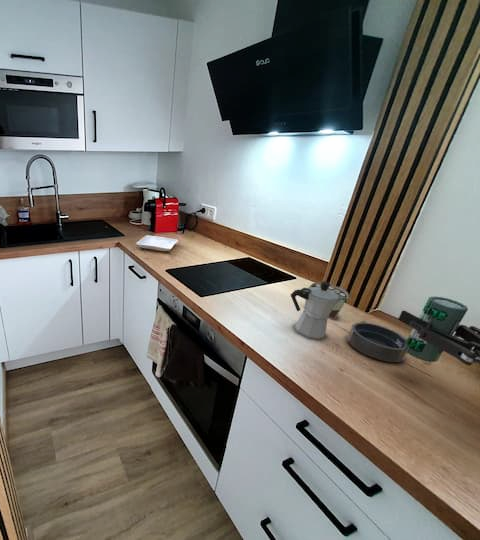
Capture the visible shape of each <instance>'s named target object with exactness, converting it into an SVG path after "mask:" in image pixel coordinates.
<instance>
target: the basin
mask: <svg viewBox="0 0 480 540" xmlns="http://www.w3.org/2000/svg"><path fill="white" fill-rule="evenodd" d="M407 339H408V338H406V337H405V336H404V335H402V334H401V333H398V332H397V331H395V330H393V329H390V328H388V327H385V326H382V325H379V324H375V323H371V322H355V323H353V324H352V326H351V328H350V331H349V333H348V334H347V339H346V340H347V342H348V344H349V345H351V347H353V348H354V349H356V350H357V351H358V352H360V353H361V354H363V355H365V356H367V357H369V358H372V359H375V360H378V361H382V362H387V363H401V362H402V361H404V360H405V359H406V357H407V355H408V353H406V351H404V345H405V343H406V341H407Z"/></svg>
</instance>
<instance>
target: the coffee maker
mask: <svg viewBox="0 0 480 540" xmlns="http://www.w3.org/2000/svg"><path fill="white" fill-rule="evenodd" d="M321 283H322V286H321V288H319V287H310V286H309V287H302V288H301V289H294V291H292V293H291V294H290V297H291V300H292V302H293V304H294V307H295V309H296V312H300V311H301V307H300V305H299V303H298V300H297V296H298V297H300V298H301V299H304V300H305V303H304V310H303V311H302V313H301V314H300V316H299V317H298V319H297V321H296V322H295V325H294V329H295V331H296V332H297V333H298V334H299V335H302V336H303V337H305V338H307V339H312V340H319V341H320V340H322V339H323V338H326V334H327V333H326V332H327V327H328V319H329V317H327V316H329V315H330V313H331V311H332V310H333V308H334V306H335V305H336V304H337V303H338V302H339V301H341V300H342V299H344V298H345V297H342V296H340V295H338V294H336V293H334V292H332V291H331V290H328V288H329V286H330V285H331V283H330V282H328V281H321Z"/></svg>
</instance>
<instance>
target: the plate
mask: <svg viewBox="0 0 480 540" xmlns="http://www.w3.org/2000/svg"><path fill="white" fill-rule="evenodd" d="M179 241H180V240H179V239H176V238H171V237H166V236H165V237H164V236H157V235H149V234H147V235H145V236H144V237H142V238H141V239H140V240H138V241H137V242H135V245H136V246H137V247H140V248H143V249H145V250H146V249H147V250H151V251H158V252H170V251H171V250H172V249H173V247H174V246H175V245H176V244H177V243H178V242H179Z"/></svg>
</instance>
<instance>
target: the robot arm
mask: <svg viewBox="0 0 480 540" xmlns="http://www.w3.org/2000/svg"><path fill="white" fill-rule="evenodd" d="M397 320H398V321H400V322H401V323H403V324H405V325H407V326H409V327H410V328H412V329H413V328H414V329H416V330H417V331H419V332H421V333H420V335H419V338H421V339H422V340H424V341H426V342H428V343H430V344H432V345H433V346H435V347H437V348H439V349H441V350H443V352H444V353H446V354H448V355H450V356H452V357H454V358H455V359H457V360H458V361H460V362H461V363H462V364H464V365H465V366H472V365H473V363H475V364H478V365H480V328H478V327H477V326H474V325H469V326H467V325H465V324H459V325H458V327H457V329H456V330H455V332H454V334H453V335H450V334H448V333H445V332H443V331H440V330H438V329H436V328H433V327H432V325H433V324H431V323H428V322H426V321H424V320H422V319H420V318H419V316H416V315H414V314H412V313H410V312H409V311H407V310H401V313H400V315H399V316H398V318H397Z"/></svg>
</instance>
